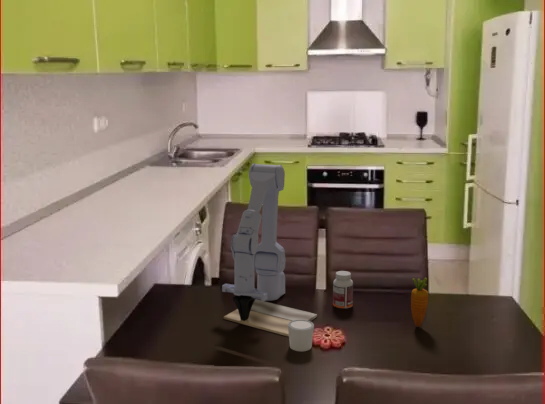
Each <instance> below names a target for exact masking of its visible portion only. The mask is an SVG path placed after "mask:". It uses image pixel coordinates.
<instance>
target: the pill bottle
mask: <svg viewBox="0 0 545 404" xmlns="http://www.w3.org/2000/svg"><path fill="white" fill-rule="evenodd" d="M351 277H352V273H351V272H350V271H347V270H339V271H336V272H335V279H333V282H332V305H333V307H336V308H338V309H349V308H352V307H353V303H354V297H353V296H354V282H353V281H354V280H352V279H351Z"/></svg>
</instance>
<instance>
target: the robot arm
mask: <svg viewBox="0 0 545 404" xmlns="http://www.w3.org/2000/svg"><path fill="white" fill-rule="evenodd" d="M285 174H286V172H285V168H284V167H283V165H282V164H263V163H262V164H260V163H252V164H251V165H250V167H249V170H248V180H249V184H250V187H251V191H250V197H249V200H248V206H247V209H246V210H244V211H243V212H242V215H241V218H240V222H239V224H238V225H239V226H238V228H237V232H236V234H235V233H234V234H233V235H232V236H231V241H230V250H231V251H230V252H231V253H232V259H233V260H234V262H233V263H234V266H233V267H234V270H233V272H234V274H233V275H234V278H233V279H234V284H233V283H232V284H230V283H224V284H222V286H221V287H222V288H221V291H222V292H223V293H230V294H233V295H234V296H233V297H232V301H233V302H234V304H235V306H236V309H238V311H239V315H240V319H241V320H243V321H245V320H247V319H248V318H249V314H250V310H251V307H252V305H253V303H254V301H255V300H256V299H257V300H261V301H265V302H269V301H276V300H279V299H280V297H282V296H283V295H284V294H286V276H285V272H284V270H285V269H286V262H287V261H286V254H285V253H286V250H285V248H284V247H283V246H282V245H281V244H280V243H278V240H277V238H278V215H279V214H278V213H279V195H280V192H281V191H284V188H285V177H286V175H285ZM261 209H262V213H260V212H261ZM260 225H261V239H260V240H261V242H259V234H258V233H259V230H260ZM255 273H256V274H257V279H256V280H257V281H256V282H257V283H256V287H257V288H255Z"/></svg>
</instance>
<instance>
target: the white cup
mask: <svg viewBox="0 0 545 404" xmlns="http://www.w3.org/2000/svg"><path fill="white" fill-rule="evenodd" d="M314 329H315V324H314V323H313V322H312V321H307V320H294V321H291V322H289V323H288V331H289V336H288V341H289V347H290V349H291V350H292V351H296V352H306V351H310V350H311V349H312V347H313V346H312V345H313V337H314Z"/></svg>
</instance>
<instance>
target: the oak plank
mask: <svg viewBox="0 0 545 404" xmlns="http://www.w3.org/2000/svg"><path fill="white" fill-rule="evenodd" d="M223 319H224V320H226V321H231V322H234V323H238V324H241V325H245V326H249V327H252V328H255V329H259V330H263V331H266V332H270V333H275V334H276V335H282V336H284V337H289V331H288V323H289V322H291V321H289V320H285V319H281V318H278V317H274V316H270V315H266V314H262V313H258V312H254V311H250V314H249V318H248V319H247V320H245V321H243V320H241V319H240V315H239V311H238V308H236V309H235V310H233V311H232V312H229V313H227V314H226V315H224V316H223Z"/></svg>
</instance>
